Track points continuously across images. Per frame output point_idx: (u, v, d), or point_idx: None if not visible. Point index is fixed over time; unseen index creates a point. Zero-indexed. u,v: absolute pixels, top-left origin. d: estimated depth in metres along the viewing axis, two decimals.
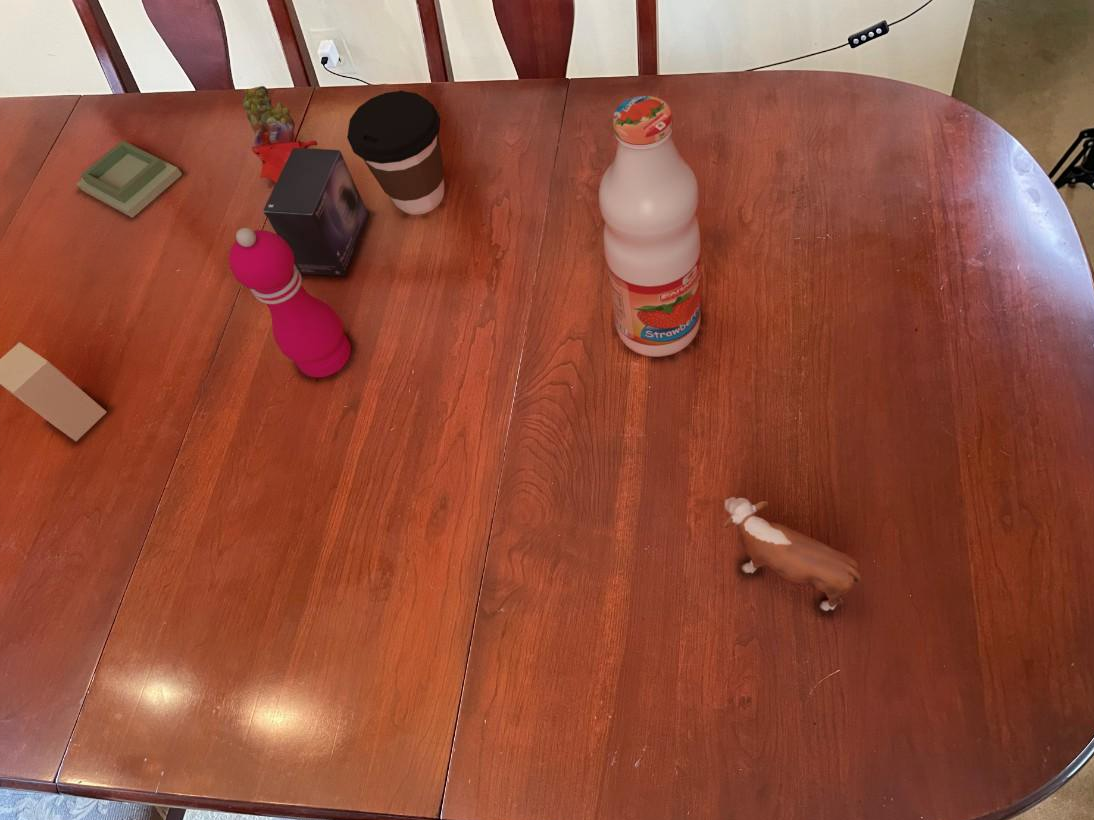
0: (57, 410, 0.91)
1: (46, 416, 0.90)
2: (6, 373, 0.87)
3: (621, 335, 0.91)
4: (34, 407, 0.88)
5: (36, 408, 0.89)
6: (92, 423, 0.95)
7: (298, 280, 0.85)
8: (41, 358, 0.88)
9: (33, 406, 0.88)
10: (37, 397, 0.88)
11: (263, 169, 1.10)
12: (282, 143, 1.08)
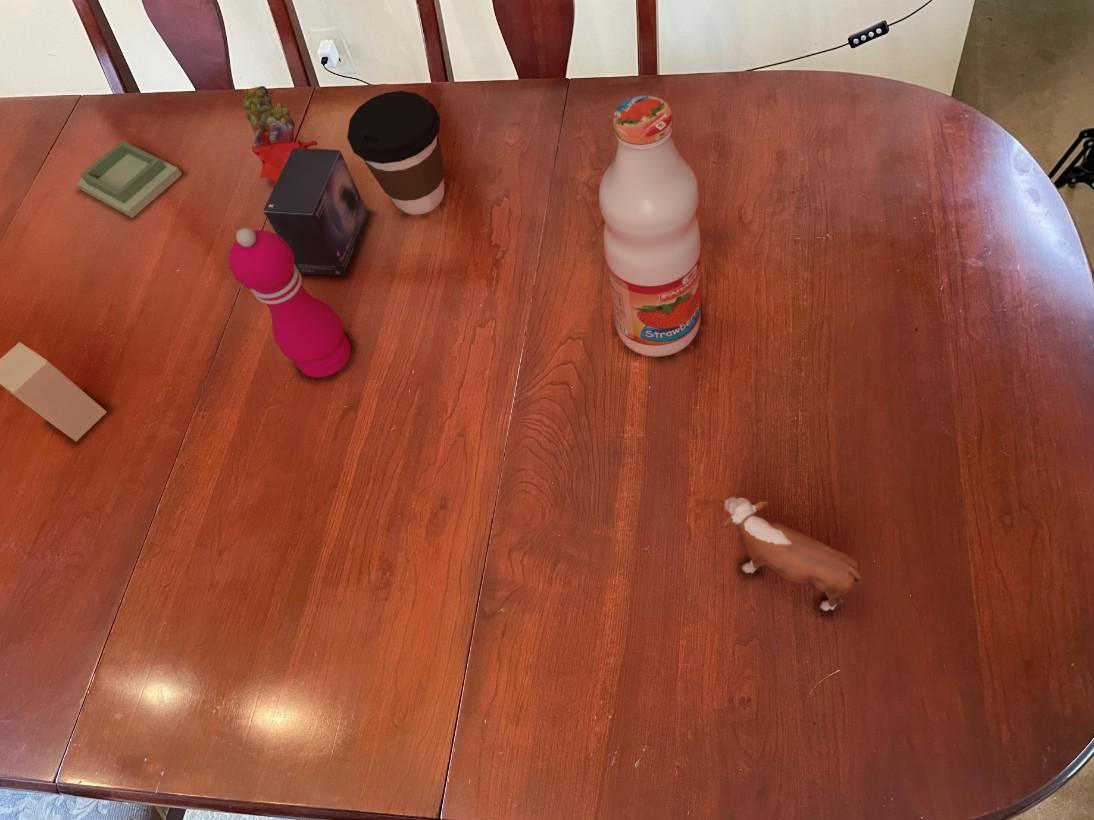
0: (57, 410, 0.91)
1: (46, 416, 0.90)
2: (6, 373, 0.87)
3: (621, 335, 0.91)
4: (34, 407, 0.88)
5: (36, 408, 0.89)
6: (92, 423, 0.95)
7: (298, 280, 0.85)
8: (41, 358, 0.88)
9: (33, 406, 0.88)
10: (37, 397, 0.88)
11: (263, 169, 1.10)
12: (282, 143, 1.08)
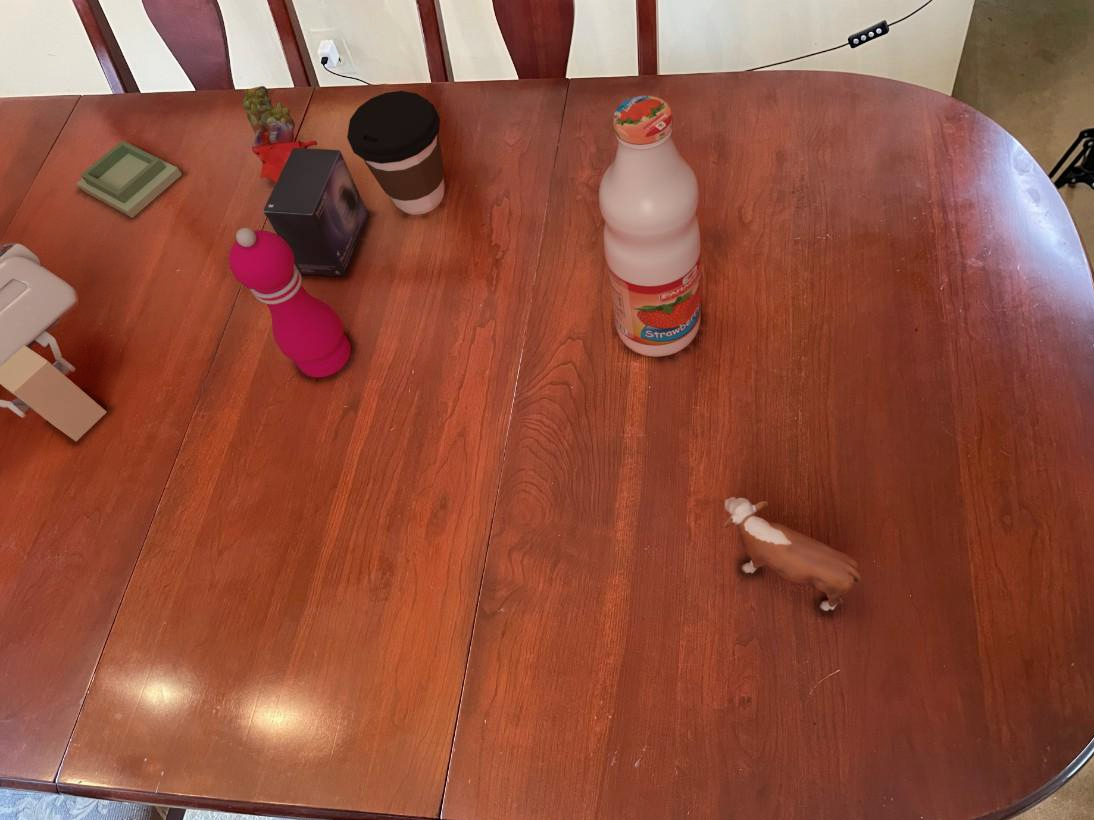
0: (57, 410, 0.91)
1: (46, 416, 0.90)
2: (6, 373, 0.87)
3: (621, 335, 0.91)
4: (34, 407, 0.88)
5: (36, 408, 0.89)
6: (92, 423, 0.95)
7: (298, 280, 0.85)
8: (41, 358, 0.88)
9: (33, 406, 0.88)
10: (37, 397, 0.88)
11: (263, 169, 1.10)
12: (282, 143, 1.08)
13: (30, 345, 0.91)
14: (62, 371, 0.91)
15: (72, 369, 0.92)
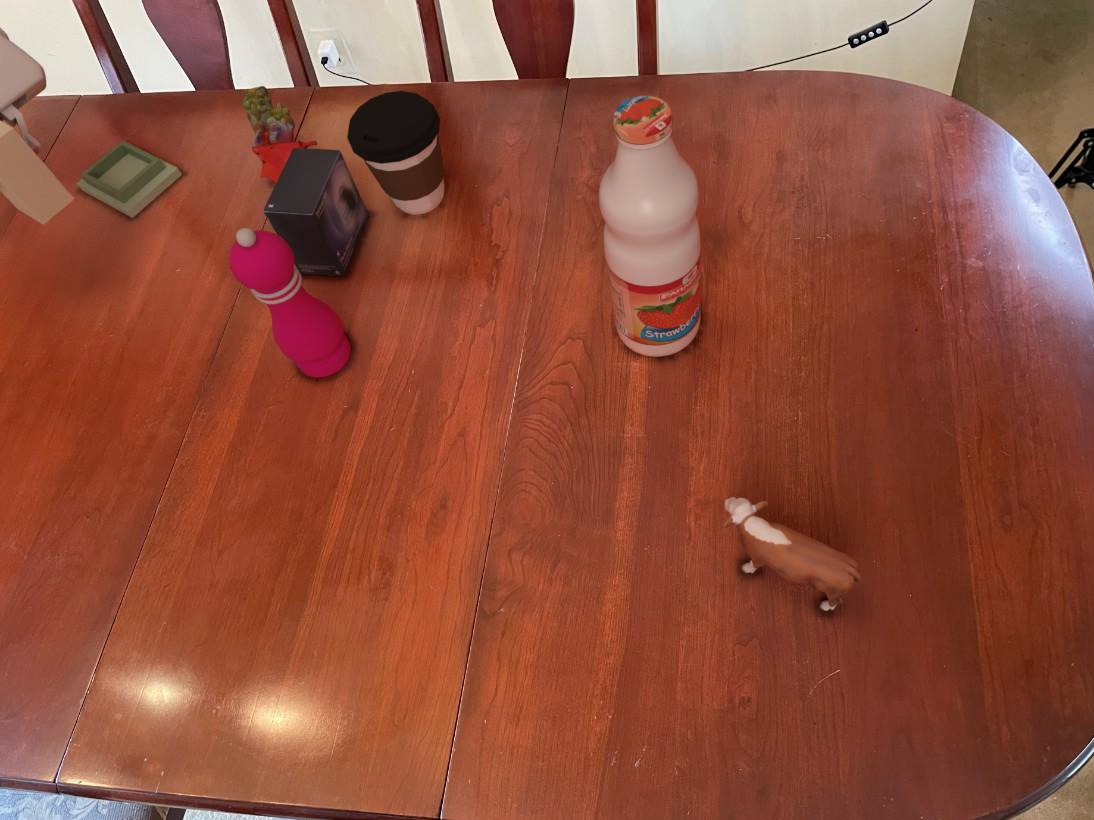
0: (24, 184, 0.91)
1: (12, 189, 0.90)
2: None
3: (621, 335, 0.91)
4: None
5: (1, 177, 0.89)
6: (59, 208, 0.95)
7: (298, 280, 0.85)
8: (6, 125, 0.88)
9: None
10: (2, 165, 0.89)
11: (263, 169, 1.10)
12: (282, 143, 1.08)
13: None
14: None
15: (39, 146, 0.92)
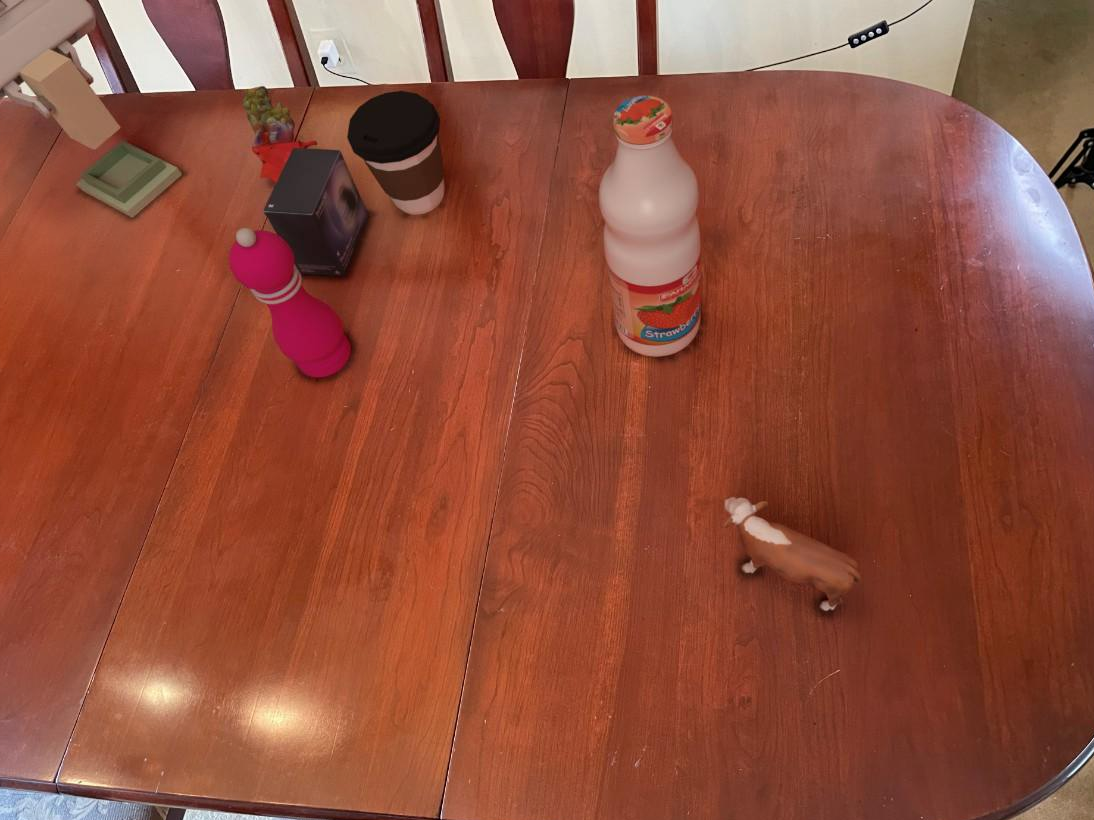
0: (78, 111, 1.03)
1: (68, 115, 1.02)
2: (33, 68, 0.99)
3: (621, 335, 0.91)
4: (57, 102, 1.00)
5: (59, 104, 1.00)
6: (108, 135, 1.07)
7: (298, 280, 0.85)
8: (64, 56, 0.99)
9: (57, 101, 1.00)
10: (60, 93, 1.00)
11: (263, 169, 1.10)
12: (282, 143, 1.08)
13: None
14: None
15: (90, 78, 1.03)
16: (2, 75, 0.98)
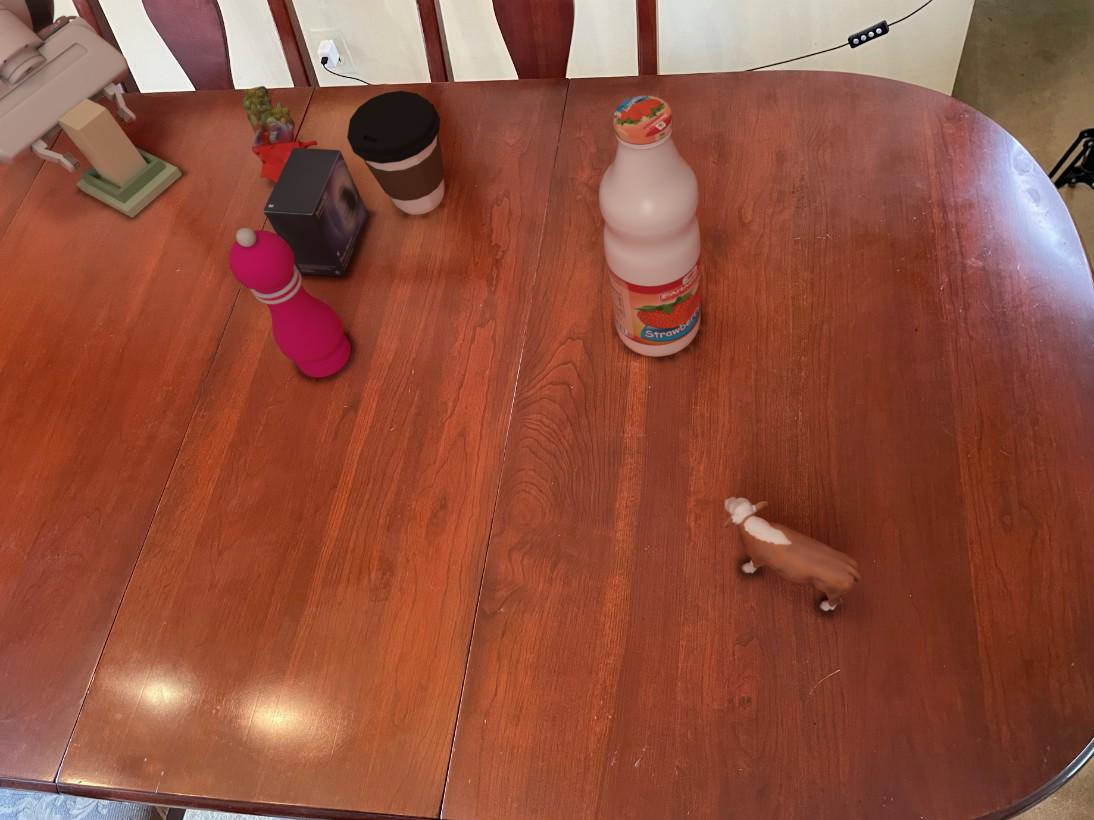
0: (112, 156, 1.09)
1: (103, 160, 1.08)
2: (72, 117, 1.05)
3: (621, 335, 0.91)
4: (94, 149, 1.06)
5: (96, 150, 1.06)
6: None
7: (298, 280, 0.85)
8: (101, 106, 1.05)
9: (94, 148, 1.06)
10: (97, 140, 1.06)
11: (263, 169, 1.10)
12: (282, 143, 1.08)
13: None
14: (125, 117, 1.09)
15: (133, 117, 1.10)
16: (42, 125, 1.04)
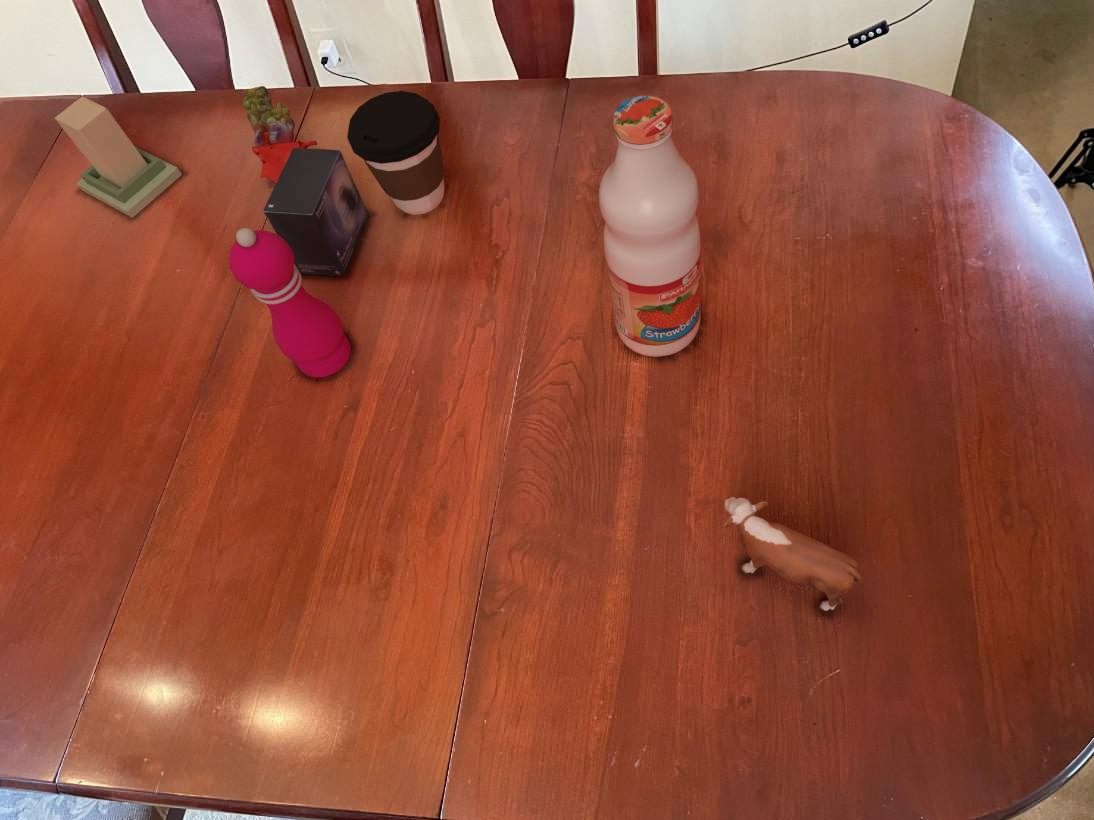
0: (112, 156, 1.09)
1: (103, 160, 1.08)
2: (72, 117, 1.05)
3: (621, 335, 0.91)
4: (94, 149, 1.06)
5: (96, 150, 1.06)
6: None
7: (298, 280, 0.85)
8: (101, 106, 1.05)
9: (94, 148, 1.06)
10: (97, 140, 1.06)
11: (263, 169, 1.10)
12: (282, 143, 1.08)
13: None
14: None
15: None
16: None
